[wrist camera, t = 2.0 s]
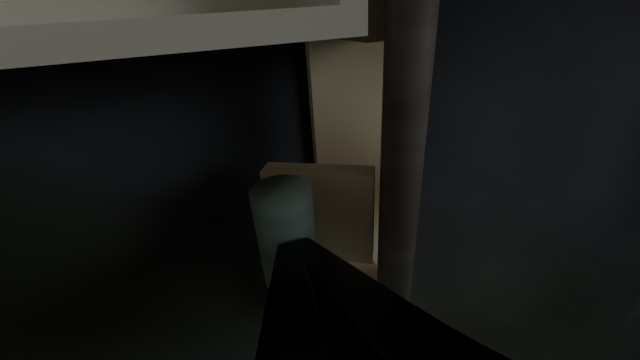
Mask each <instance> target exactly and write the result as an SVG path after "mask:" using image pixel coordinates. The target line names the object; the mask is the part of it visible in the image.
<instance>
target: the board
mask: <svg viewBox="0 0 640 360" xmlns="http://www.w3.org/2000/svg"><path fill="white" fill-rule="evenodd" d="M361 36H368V0H0V69H11V68H22V67H33V66H44V65H55V64H66V63H76V62H87V61H98V60H109V59H120V58H131V57H142V56H153V55H164V54H175V53H186V52H197V51H208V50H219V49H230V48H240V47H251V46H262V45H273V44H284V43H295V42H306V41H317V40H328V39H339V38H350V37H361Z"/></svg>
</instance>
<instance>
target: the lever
mask: <svg viewBox="0 0 640 360" xmlns="http://www.w3.org/2000/svg"><path fill="white" fill-rule="evenodd" d="M439 3H440V0H385V20H384V54H383V88H382V123H381V157H380V191H379V225H378V259H377V281H378V282H379V283H381V284H383V285H384V286H386V287H387V288H389V289H390V290H392V291H393V292H395V293H397V294H398V295H400V296H401V297H403V298H404V299H406V300H408V301H409V302H410V295H411V285H412V275H413V265H414V255H415V245H416V235H417V225H418V215H419V205H420V195H421V185H422V174H423V164H424V154H425V144H426V134H427V124H428V114H429V104H430V94H431V84H432V74H433V63H434V53H435V43H436V33H437V23H438V13H439ZM260 178H261V180H260V181H258V182H256V183H255V184H254V185H252V187H251V188H250V189H249V193H248V194H249V200H250V205H251V210H252V215H253V220H254V226H255V231H256V236H257V241H258V246H259V251H260V257H261V262H262V267H263V272H264V277H265V283H266V286H267V288H268V289H269V286H270V281H271V276H272V271H273V266H274V261H275V256H276V251H277V246H278V245H279V244H281V243H285V242H289V241H294V240H297V239H300V238H304V237H309V238H310V239H312V240H314V241H315V242H317V243H318V244H320V245H321V246H323V247H325V248H326V249H328V250H329V251H331V252H332V253H334V254H336V255H337V256H339V257H340V258H342V259H343V260H345V261H346V262H357V263H367V264H372V259H373V246H374V199H375V166H371V165H341V164H310V163H280V162H268V163H267V164H266V165H265V166H264V168H263V169H262V170H261V171H260Z"/></svg>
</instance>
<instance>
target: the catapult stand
mask: <svg viewBox="0 0 640 360" xmlns="http://www.w3.org/2000/svg"><path fill="white" fill-rule="evenodd" d="M384 20H385V0H368V36H361V37H350V38H339V39H328V40H317V41H306V42H305V50H306V63H307V76H308V89H309V102H310V115H311V128H312V141H313V153H314V164H341V165H371V166H375V199H374V246H373V259H372V264H367V263H357V262H348V263H350V264H351V265H353V266H354V267H356V268H357V269H359V270H361V271H362V272H364V273H365V274H367V275H368V276H370V277H372V278H373V279H375V280H376V281H377V259H378V225H379V191H380V157H381V123H382V88H383V54H384Z"/></svg>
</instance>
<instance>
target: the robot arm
mask: <svg viewBox="0 0 640 360" xmlns="http://www.w3.org/2000/svg"><path fill="white" fill-rule="evenodd" d="M255 360H511V359H509V358H507V357H505V356H503V355H501V354H500V353H498V352H496V351H494V350H492V349H490V348H488V347H486V346H484V345H482V344H480V343H478V342H477V341H475V340H473V339H471V338H469V337H467V336H466V335H464V334H462V333H460V332H458V331H456V330H455V329H453V328H451V327H450V326H448V325H446V324H445V323H443V322H441V321H440V320H438V319H436V318H435V317H433V316H431V315H430V314H428V313H427V312H425V311H424V310H422V309H420V308H419V307H417V306H414V307H413V304H412V303H411V302H409V301H408V300H406V299H404V298H403V297H401V296H400V295H398V294H397V293H395V292H393V291H392V290H390V289H389V288H387V287H386V286H384V285H383V284H381V283H379V282H378V281H376V280H375V279H373V278H372V277H370V276H368V275H367V274H365V273H364V272H362V271H361V270H359V269H357V268H356V267H354V266H353V265H351V264H350V263H348V262H346V261H345V260H343V259H342V258H340V257H339V256H337V255H336V254H334V253H332V252H331V251H329V250H328V249H326V248H325V247H323V246H321V245H320V244H318V243H317V242H315V241H314V240H312V239H310V238H309V237H304V238H300V239H297V240H294V241H289V242H285V243H281V244H279V245H278V246H277V251H276V256H275V261H274V266H273V271H272V276H271V281H270V286H269V291H268V296H267V301H266V307H265V312H264V317H263V322H262V327H261V332H260V337H259V342H258V347H257V352H256V357H255Z"/></svg>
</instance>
